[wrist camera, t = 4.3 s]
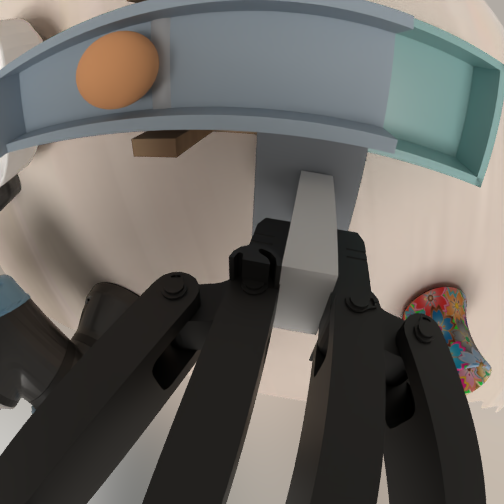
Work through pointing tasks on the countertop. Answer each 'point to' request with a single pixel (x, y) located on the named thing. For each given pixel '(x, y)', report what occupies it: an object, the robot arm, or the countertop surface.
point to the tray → (443, 103)
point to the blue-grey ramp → (231, 86)
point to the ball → (117, 70)
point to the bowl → (3, 52)
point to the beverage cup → (9, 191)
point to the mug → (454, 332)
